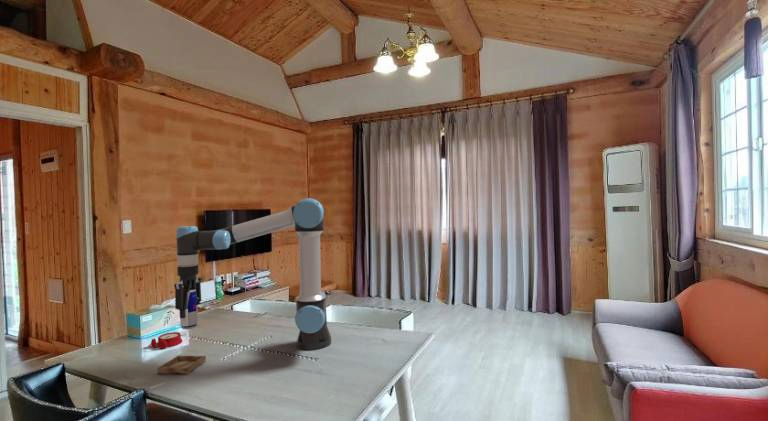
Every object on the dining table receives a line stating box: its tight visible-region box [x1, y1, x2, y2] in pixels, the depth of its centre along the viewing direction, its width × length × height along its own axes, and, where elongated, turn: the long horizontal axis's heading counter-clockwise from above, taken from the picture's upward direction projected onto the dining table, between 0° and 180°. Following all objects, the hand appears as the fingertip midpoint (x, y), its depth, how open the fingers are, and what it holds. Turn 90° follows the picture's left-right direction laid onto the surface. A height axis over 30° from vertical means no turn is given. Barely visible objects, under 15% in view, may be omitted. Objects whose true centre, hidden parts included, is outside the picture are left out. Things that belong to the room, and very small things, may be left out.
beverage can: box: [180, 290, 198, 330], centre depth 151 cm, size 6×6×15 cm
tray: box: [157, 355, 207, 376], centre depth 149 cm, size 12×12×2 cm
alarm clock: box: [148, 331, 187, 350], centre depth 176 cm, size 10×6×15 cm
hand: (189, 323), depth 151 cm, fingers closed on beverage can, 5 cm apart
